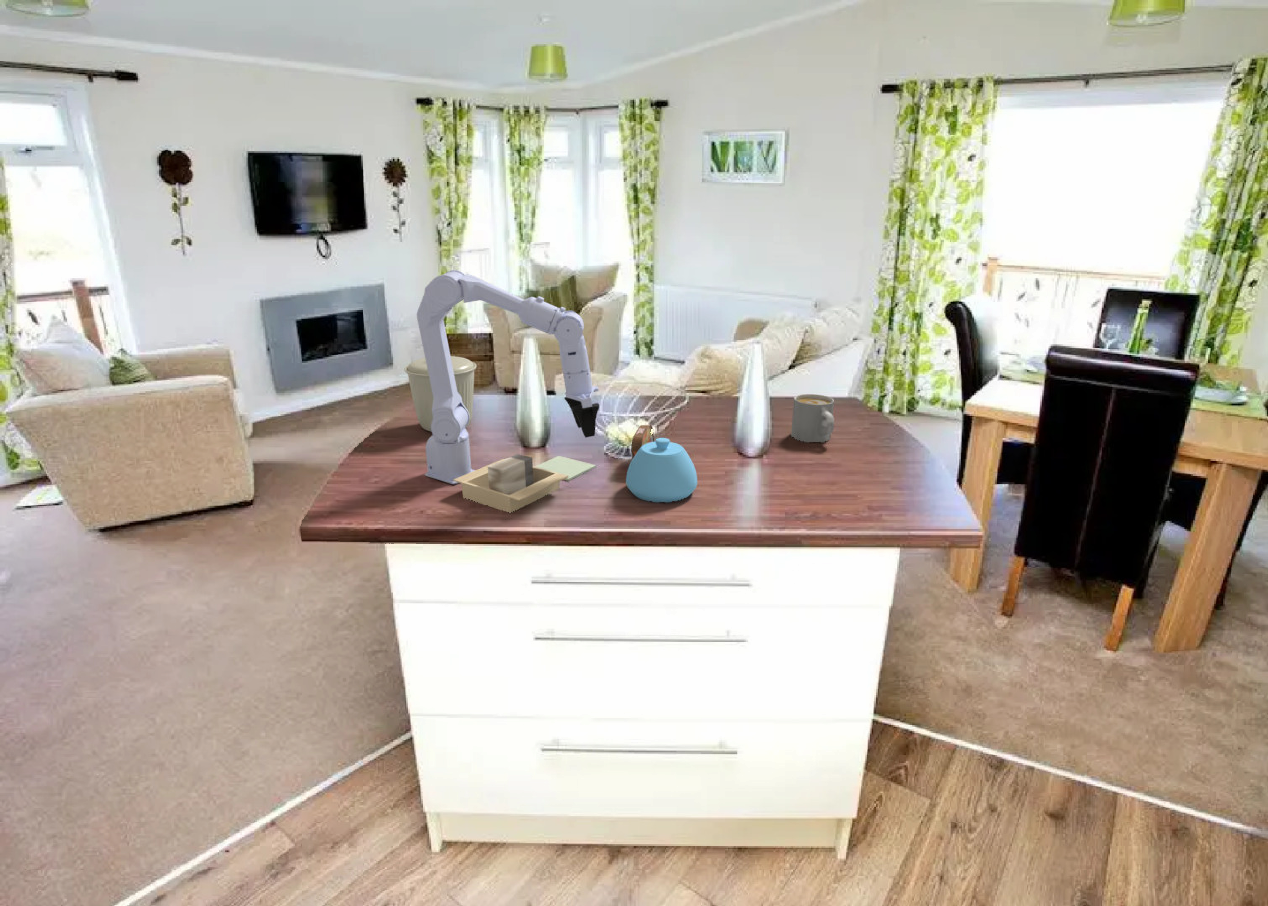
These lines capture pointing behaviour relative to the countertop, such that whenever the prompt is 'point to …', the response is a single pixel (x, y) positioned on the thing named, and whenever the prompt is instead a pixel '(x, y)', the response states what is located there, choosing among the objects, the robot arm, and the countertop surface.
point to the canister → (424, 391)
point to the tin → (641, 438)
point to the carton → (478, 491)
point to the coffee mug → (812, 418)
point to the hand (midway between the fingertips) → (586, 431)
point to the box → (511, 474)
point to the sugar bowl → (661, 472)
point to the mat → (566, 467)
